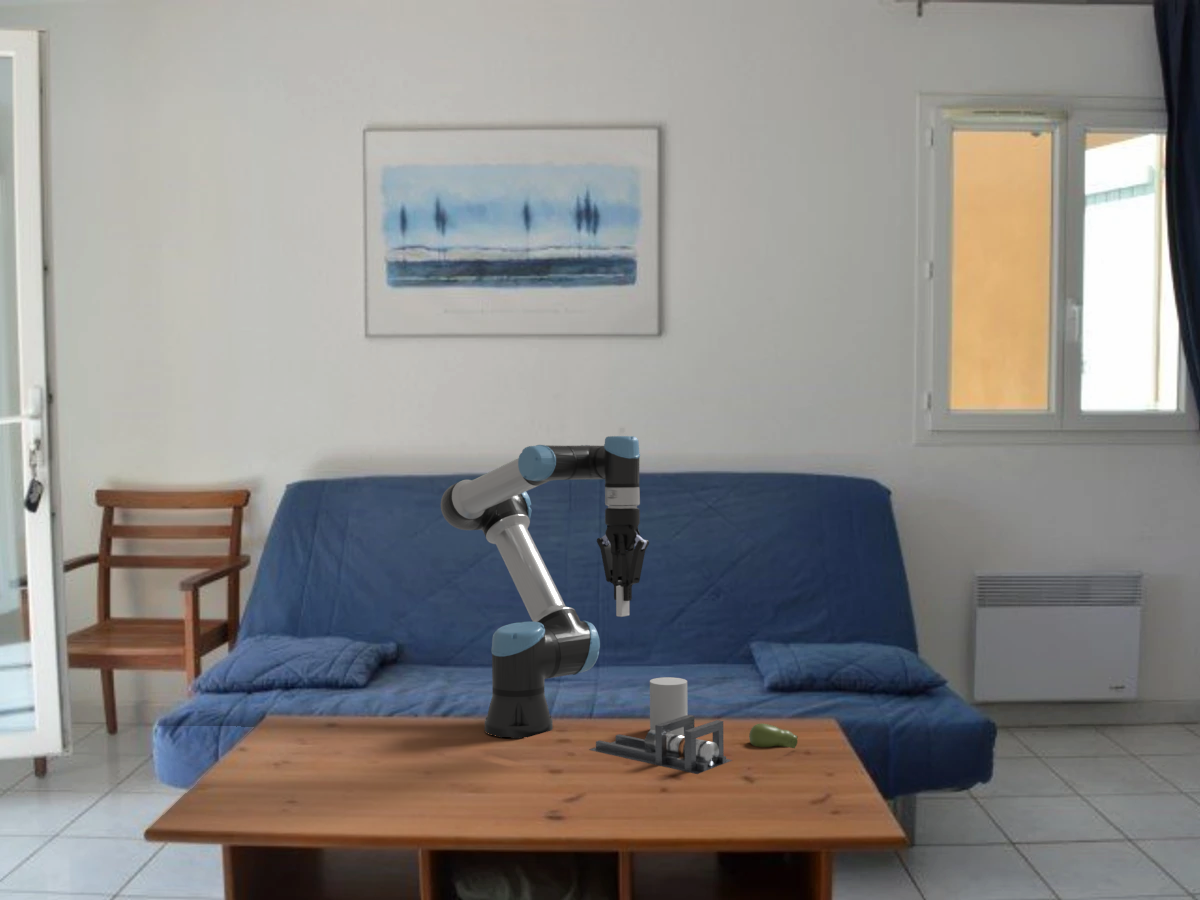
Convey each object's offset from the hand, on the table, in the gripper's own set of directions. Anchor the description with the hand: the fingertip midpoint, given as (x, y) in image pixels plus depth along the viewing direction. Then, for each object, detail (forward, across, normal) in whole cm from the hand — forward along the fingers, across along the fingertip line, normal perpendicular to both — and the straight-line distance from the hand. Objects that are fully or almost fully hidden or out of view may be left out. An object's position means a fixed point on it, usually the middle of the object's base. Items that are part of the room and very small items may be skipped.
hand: (622, 615), depth 237 cm
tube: (+25, +22, -9) cm, 34 cm away
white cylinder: (+27, +7, +7) cm, 28 cm away
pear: (+27, +30, +13) cm, 42 cm away
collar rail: (+26, +16, -9) cm, 32 cm away
